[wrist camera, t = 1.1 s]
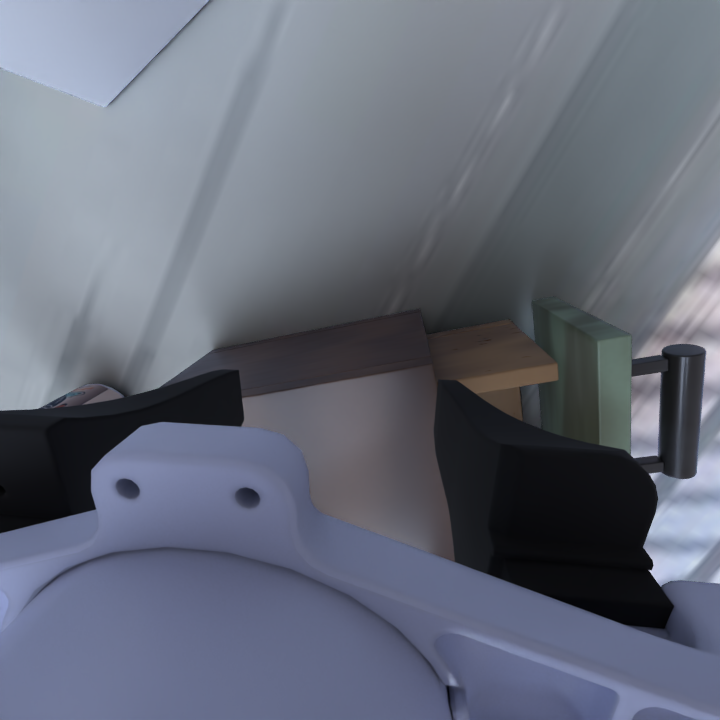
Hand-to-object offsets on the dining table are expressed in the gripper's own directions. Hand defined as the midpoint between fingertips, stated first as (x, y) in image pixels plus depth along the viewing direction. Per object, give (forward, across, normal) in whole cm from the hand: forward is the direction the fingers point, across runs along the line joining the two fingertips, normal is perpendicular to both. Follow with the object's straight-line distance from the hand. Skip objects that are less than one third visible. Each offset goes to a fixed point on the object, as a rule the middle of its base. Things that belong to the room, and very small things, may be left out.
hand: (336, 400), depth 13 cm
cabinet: (+10, +2, +7) cm, 12 cm away
